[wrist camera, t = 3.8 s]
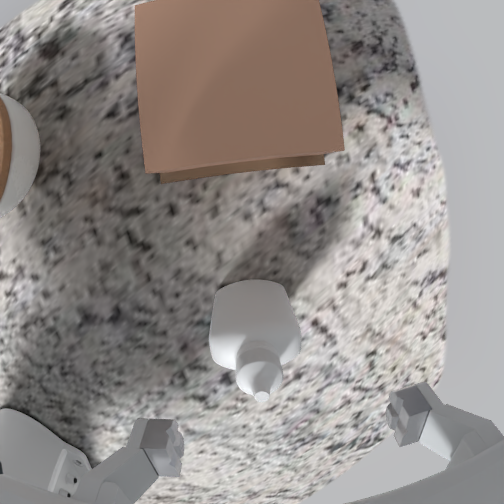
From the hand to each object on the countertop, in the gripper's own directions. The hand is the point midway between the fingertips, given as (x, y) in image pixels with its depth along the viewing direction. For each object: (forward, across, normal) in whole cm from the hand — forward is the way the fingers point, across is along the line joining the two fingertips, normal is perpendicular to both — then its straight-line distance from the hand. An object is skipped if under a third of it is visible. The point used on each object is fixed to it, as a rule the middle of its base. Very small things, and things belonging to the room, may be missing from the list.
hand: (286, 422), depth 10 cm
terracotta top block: (+11, 0, -14) cm, 17 cm away
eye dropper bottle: (+15, +1, +2) cm, 15 cm away
